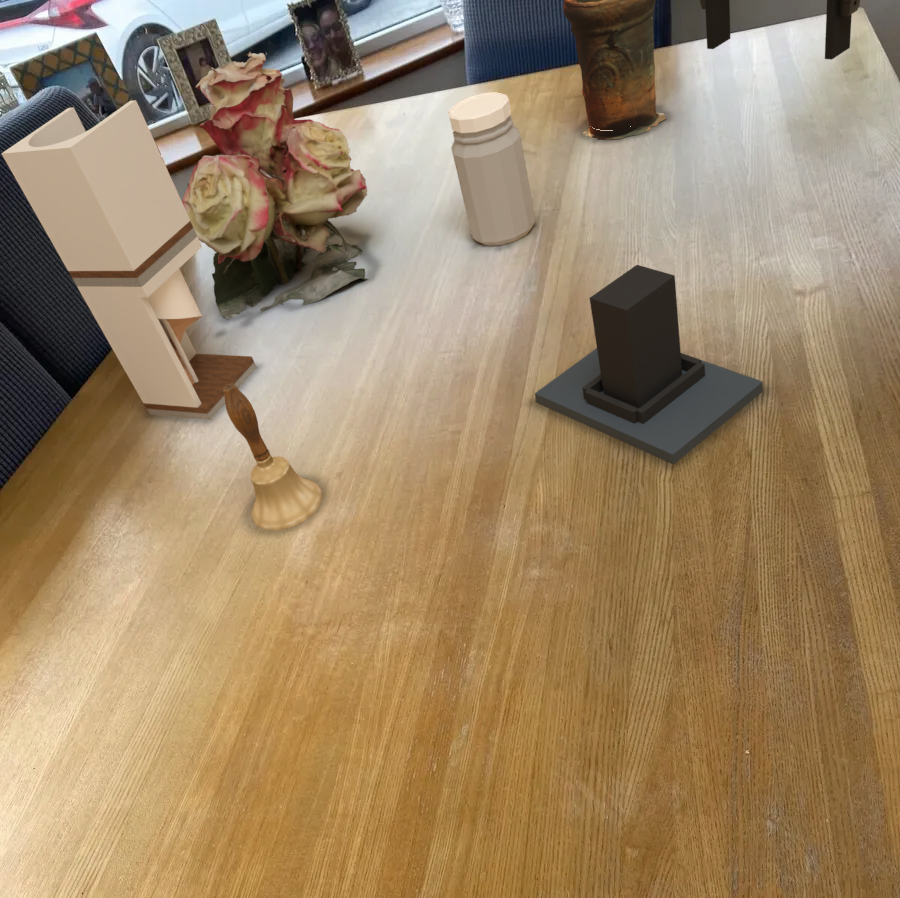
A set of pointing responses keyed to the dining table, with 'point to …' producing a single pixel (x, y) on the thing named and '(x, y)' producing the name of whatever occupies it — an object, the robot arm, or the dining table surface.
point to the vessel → (616, 64)
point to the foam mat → (654, 405)
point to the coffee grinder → (126, 252)
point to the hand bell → (271, 473)
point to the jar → (491, 169)
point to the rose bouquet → (270, 191)
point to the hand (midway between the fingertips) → (775, 48)
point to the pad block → (637, 335)
